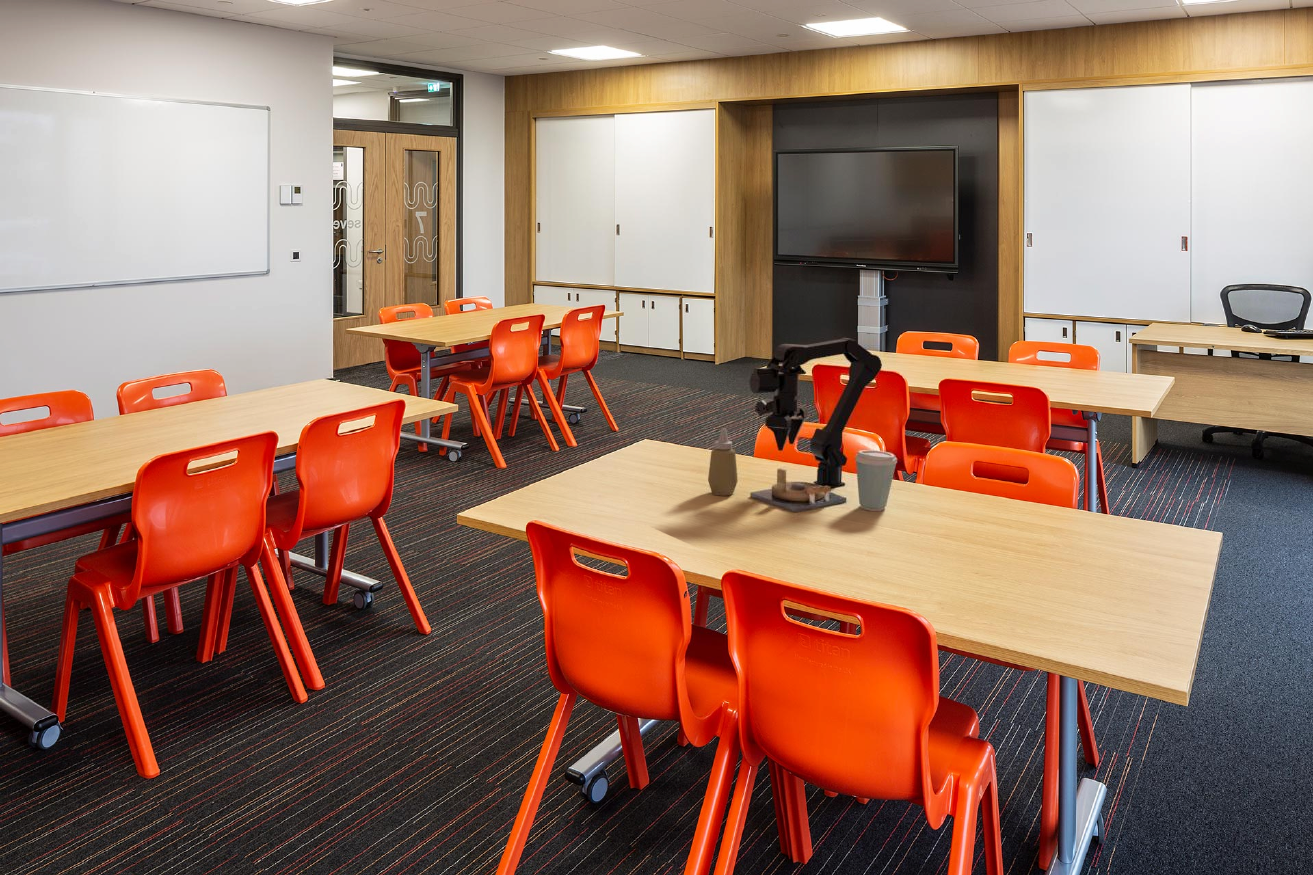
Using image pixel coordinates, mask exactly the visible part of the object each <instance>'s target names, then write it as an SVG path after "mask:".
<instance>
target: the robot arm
mask: <svg viewBox="0 0 1313 875" xmlns="http://www.w3.org/2000/svg"><path fill="white" fill-rule="evenodd" d="M840 355H843V356H844V358H845V360H847V361H848V362H849V363H850V365H849V368H848V381H847V383H846V385H845V387H844V389H843V391H842V393H841V395H840V396H839V399H838V401H837V403H836V406H835V407H834V409H833V411H832V413H831V415H830V417H829V420H828V421H827V424H826V425H825V426H824V427H822V428H818V427H817V428H816V429H815V430H814V433H813V435H812V437H811V438H810V439H809V441H810V444H809V449H810V452H811V453H812V455H813V457H814V460H815V461H817V462H818V464H817V466H818V467H817V469H816V472H817V473H816V480H815V481H813V483H814V484H818V485H820V486H822V487H823V486H829V487H831V488H835V487H841V486H845V485H846V482H844V481H842V478H843V474H842V473H843V472H842V471H843V467H844V466H846V464H847V461H848V457H847V456H846V455H845V454H844V453H843V452H842V451H841V449H842V445H843V433H844V430H845V428H846V426H847V424H848V422H849V420H850V418H851V416H852V415H853V412H854V410H855V408H856V406H857V404H858V402H859V400H860V398H861V396H862V394H863V391H864V389H865V388H866V387H867V386H868V385H869V384H870V383H872V382H873V381H874V380H875V379H876V377H877V376H878V375H879V373H881V372H880V371H881V369H882V367H883V364H882V360H881V358H880V356H878V355H877V354H872V353H871V352H870V351H869V350H867V348H865V347H863V346H862V345H860V344H859V343H858V342H857V341H856V340H855V339H852V338H847V337H842V338H840V339H833V340H827V341H822V342H817V343H809V344H795V343H794V344H793V343H782V344H779V345H778V346H777V347H776V349H775V351H774V354H773V356H771V357H772V358H771V359H770V361H769V362H768V363H767V365H766V366H765V367H754V368H753V371H752V373H751V375H750V378H749V382H748V383H749V387H750V388H749V389H750V390H751V392H752V393H753V394H764V393H765V394H766V393H775V392H776V394H775V395H773V398H772V399H769V400H767V401H765V400H764V399H762V400H760V401H756V404H755V406H754V408H755V409H754V412H756V413H757V415H758V417H763V416H764V415H767V414H769V413H772V414H770V415H768V416H767V417H766V418H765V419H764V426H765V427H766V428H767V429H769V430H770V431H771V432H772V433H773V435H774V440H775V442H776V446H777V447H776V448H777V450H778V451H781V452H782V451H783V450H784V448H785V445H786V443H787V440H788V443H789V445H793V444H794V443H795V441H796V438H797V437H798V435H799V432H800V431H801V429H802V426H803V424H804V422H805V421H806V418H807V417H808V409H807V407H805V405H804V406H802V405H799V403H798V402H799V399H801V394H800V393H799V378H800V377H799V375H806V374H807V371H805V370H804V369H803V368H802V366H803V365H805V364H806V363H808V362H810V361H812V360H816V359H822V358H829V357H833V356H840ZM801 416H802V417H801Z"/></svg>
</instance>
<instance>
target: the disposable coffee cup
mask: <svg viewBox="0 0 1313 875" xmlns="http://www.w3.org/2000/svg"><path fill="white" fill-rule="evenodd" d="M854 460H855V465H856V466H855V467H856V468H855V469H856V477H857V490H858V504H859V506H860V508H861V509H862V510H865V511H872V512H880V511H884V510H885V508H886V507H887V503H888V499H889V495H890V491H891V487H892V482H893V478H894V473H895V469H896V465H897V463H898V458H897V457H896V454H895V455H894V453H892V452H888V451H883V450H876V449H875V450H874V449H862V450H861V449H860V450H858V451H857V454H855V457H854Z"/></svg>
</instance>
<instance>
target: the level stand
mask: <svg viewBox="0 0 1313 875" xmlns="http://www.w3.org/2000/svg"><path fill="white" fill-rule="evenodd" d="M831 488H832V487H829V486H822V487H818V488H812V489H809V491H808V493H810V495H809V501H790V500H784V499H780V498H777V497H775V496H773V495H772V488H768V489H763V490H758V491H753V492H750V494H749V496H750V498H751V499H756V500H758V501H760V502H763V503H766V504H770V505H773V506H775V507H777V508H780V509H783V510H786V511H789V512H792V513H799V512H800V513H801V512H805V511H810V510H815V509H820V508H824V507H829V506H833V505H834V506H835V505H839V504H844V503H847V497H846V496H842V495H840V494H839V495H838V494H836V493H833V492H830V491H831ZM821 492H824V497H823V498H821V499H818V500H815V493H821Z"/></svg>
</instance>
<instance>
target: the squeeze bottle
mask: <svg viewBox="0 0 1313 875" xmlns="http://www.w3.org/2000/svg"><path fill="white" fill-rule="evenodd" d="M728 437H729V436H728V432H727V428H721V429H720V435H719V438H718V440H716V441H714V449H712V450H711V452H710V460H709V467H708V468H709V469H708V476H707V477H708V478H707V481H708V484H709V488H710V492H711V493H712V495H716V496H726V497H727V496H731V495H733V494H734V493H735V490H736V487H737V484H738V482H739V479H738V468H737V456H736V451H735V450H734V449H733V442H732V441H730V440H729V438H728Z"/></svg>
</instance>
